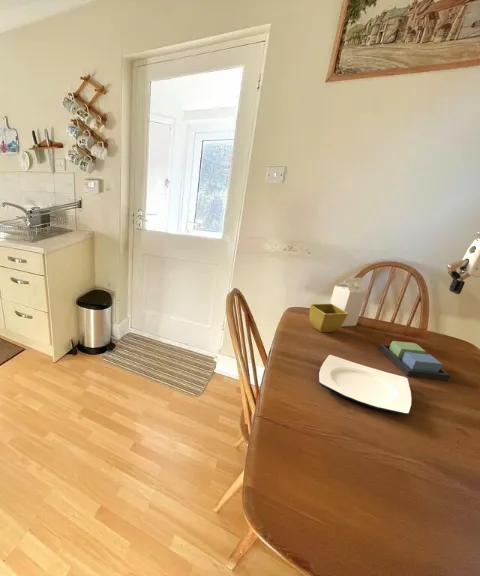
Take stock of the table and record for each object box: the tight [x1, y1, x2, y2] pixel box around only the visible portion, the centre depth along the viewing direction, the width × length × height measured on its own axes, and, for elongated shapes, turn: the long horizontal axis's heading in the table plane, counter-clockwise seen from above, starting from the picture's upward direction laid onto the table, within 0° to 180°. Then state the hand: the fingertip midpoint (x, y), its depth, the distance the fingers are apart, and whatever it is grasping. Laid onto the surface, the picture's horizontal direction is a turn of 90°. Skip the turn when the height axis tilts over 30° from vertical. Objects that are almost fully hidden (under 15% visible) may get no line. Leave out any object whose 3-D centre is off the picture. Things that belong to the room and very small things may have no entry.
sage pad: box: [389, 340, 427, 360], centre depth 103 cm, size 6×5×4 cm
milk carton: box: [329, 277, 368, 328], centre depth 123 cm, size 7×7×19 cm
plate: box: [318, 354, 412, 416], centre depth 90 cm, size 20×20×3 cm
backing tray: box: [378, 343, 451, 382], centre depth 100 cm, size 10×16×2 cm, turn 165°
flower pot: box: [308, 303, 348, 333], centre depth 120 cm, size 9×9×9 cm
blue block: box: [402, 352, 443, 373], centre depth 96 cm, size 6×5×4 cm
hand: (474, 293), depth 93 cm, fingers open, 9 cm apart
